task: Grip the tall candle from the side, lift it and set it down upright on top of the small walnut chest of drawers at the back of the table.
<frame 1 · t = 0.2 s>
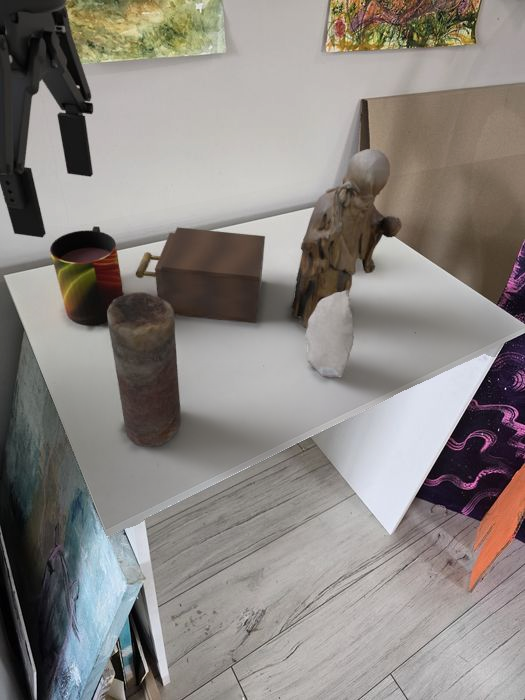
hand: (57, 201, 52), 28 cm above the table, tool pointing down, fingers open, 13 cm apart
dresser: (215, 296, 88), on the table
dresser drawer: (193, 272, 85), point 5 cm above the table, slide at 0.0 cm
candle: (154, 427, 67), on the table
stone tool: (321, 371, 77), on the table
mug: (92, 301, 85), on the table
sculpture: (326, 315, 87), on the table
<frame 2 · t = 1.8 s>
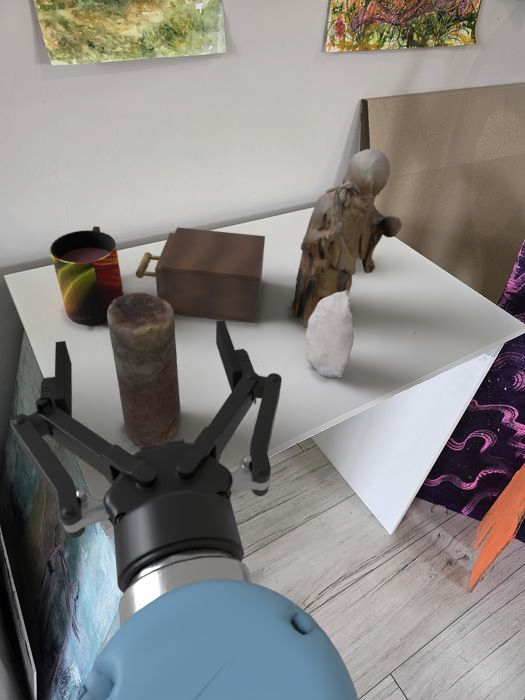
hand: (144, 341, 43), 24 cm above the table, tool horizontal, fingers open, 13 cm apart
nothing on the table moved.
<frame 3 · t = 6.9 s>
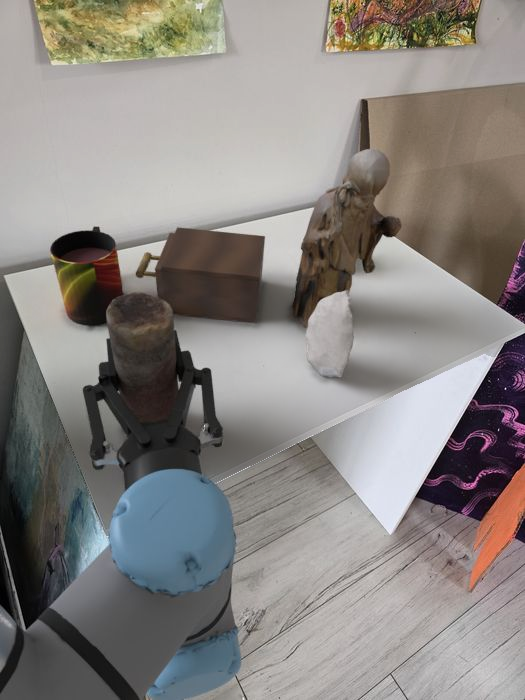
hand: (142, 342, 62), 11 cm above the table, tool horizontal, fingers closed on candle, 7 cm apart
candle: (154, 427, 67), on the table, touching gripper
everything else where it was.
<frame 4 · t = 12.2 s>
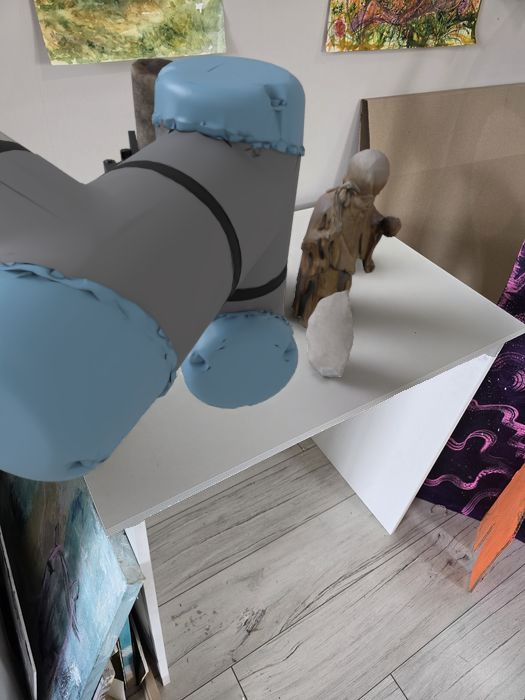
hand: (167, 141, 56), 32 cm above the table, tool horizontal, fingers closed on candle, 7 cm apart
candle: (178, 249, 61), point 21 cm above the table, touching gripper
everything else where it was.
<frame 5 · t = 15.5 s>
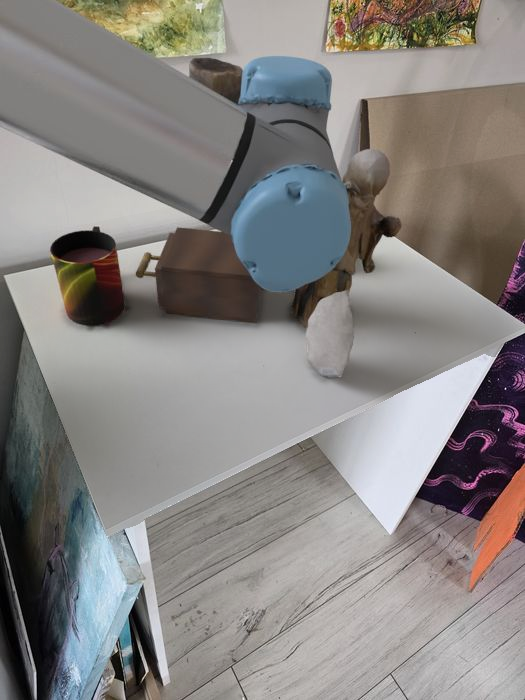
hand: (209, 123, 72), 28 cm above the table, tool horizontal, fingers closed on candle, 7 cm apart
candle: (216, 209, 77), point 17 cm above the table, touching gripper
everything else where it was.
when the fingers open (21 cm above the table, at t = 18.0 s): candle stays where it is, resting on dresser.
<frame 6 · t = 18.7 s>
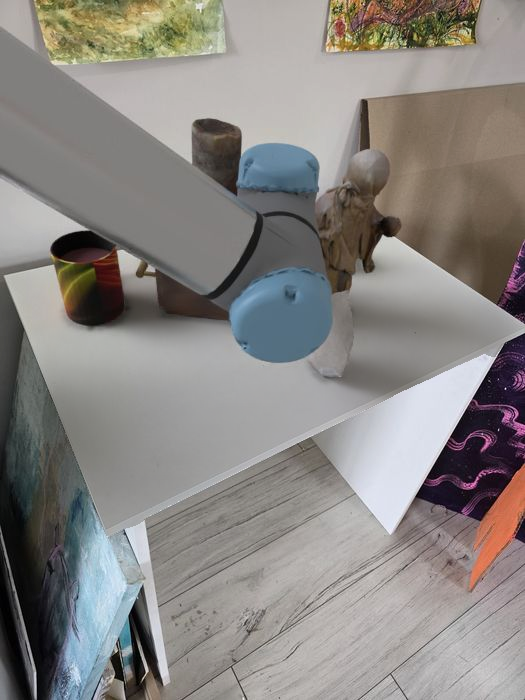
hand: (211, 174, 76), 21 cm above the table, tool horizontal, fingers open, 13 cm apart
candle: (216, 251, 82), point 9 cm above the table, touching dresser
everything else where it was.
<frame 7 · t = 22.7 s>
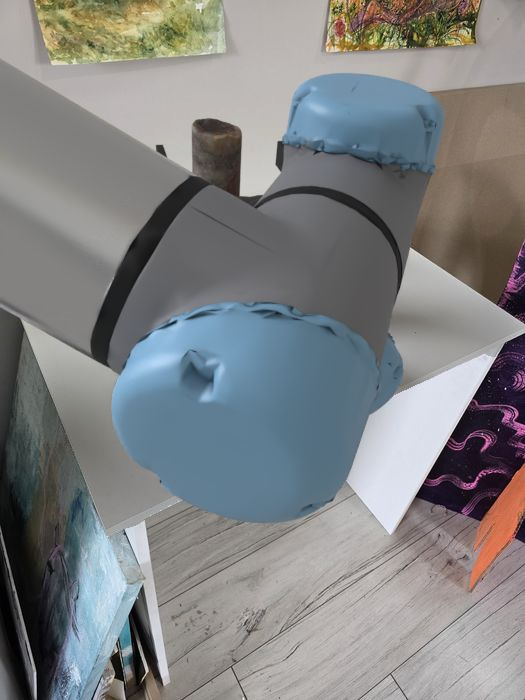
hand: (221, 154, 55), 32 cm above the table, tool horizontal, fingers open, 13 cm apart
nothing on the table moved.
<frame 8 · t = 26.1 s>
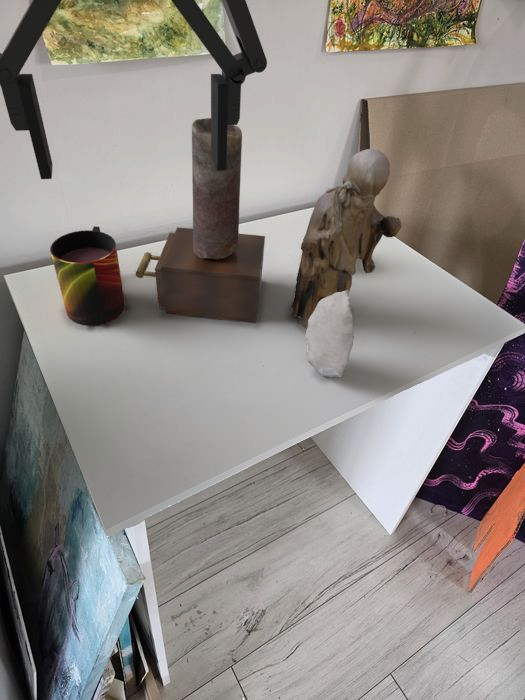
hand: (136, 168, 40), 37 cm above the table, tool pointing down, fingers open, 13 cm apart
nothing on the table moved.
at the end: candle inside the target area on the dresser (0.0 cm from its centre), point 9.4 cm above the dresser's base; candle tilted 0°; the gripper is holding nothing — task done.
